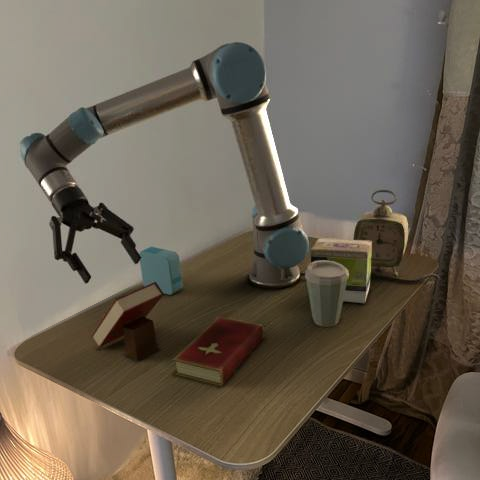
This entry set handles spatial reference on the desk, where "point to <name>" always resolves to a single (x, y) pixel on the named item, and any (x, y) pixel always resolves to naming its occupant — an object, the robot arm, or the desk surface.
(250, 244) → the desk surface
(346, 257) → the tea box
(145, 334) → the walnut box
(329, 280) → the disposable coffee cup
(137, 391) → the desk surface
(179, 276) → the data package
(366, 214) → the tabletop clock
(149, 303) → the book
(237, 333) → the hardcover book
